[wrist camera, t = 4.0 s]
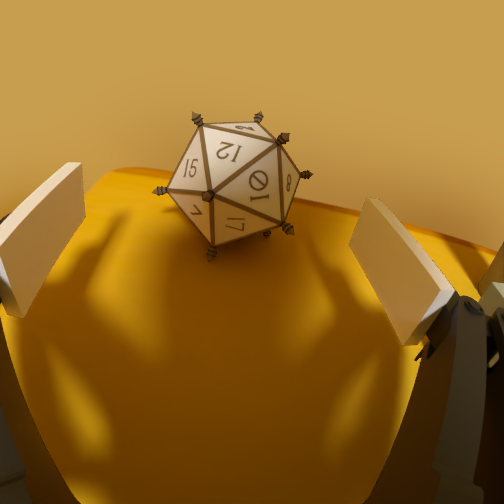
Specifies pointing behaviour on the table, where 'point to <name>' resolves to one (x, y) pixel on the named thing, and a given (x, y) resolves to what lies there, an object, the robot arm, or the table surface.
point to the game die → (234, 181)
